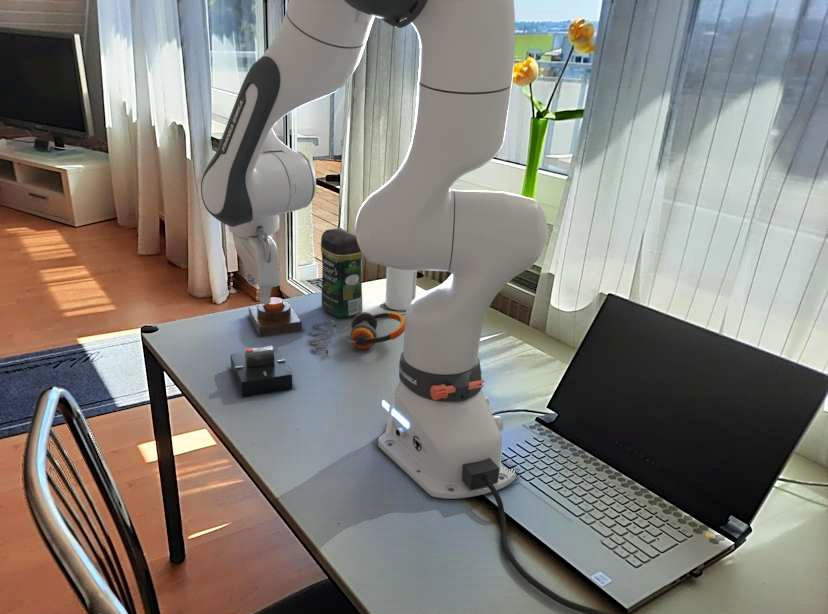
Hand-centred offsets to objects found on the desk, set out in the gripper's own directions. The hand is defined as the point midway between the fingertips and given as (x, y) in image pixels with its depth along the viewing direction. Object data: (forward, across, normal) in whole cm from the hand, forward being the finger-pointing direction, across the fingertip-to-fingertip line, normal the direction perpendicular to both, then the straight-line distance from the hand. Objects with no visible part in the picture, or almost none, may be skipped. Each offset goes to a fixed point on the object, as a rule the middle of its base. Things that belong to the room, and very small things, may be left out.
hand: (258, 292), depth 120 cm
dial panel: (+14, -8, +2) cm, 16 cm away
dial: (+11, -7, +2) cm, 13 cm away
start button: (+11, +15, -7) cm, 20 cm away
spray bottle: (+15, +16, -36) cm, 42 cm away
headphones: (+14, +1, -20) cm, 25 cm away
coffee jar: (+14, +17, -22) cm, 32 cm away
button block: (+14, +15, -6) cm, 22 cm away
